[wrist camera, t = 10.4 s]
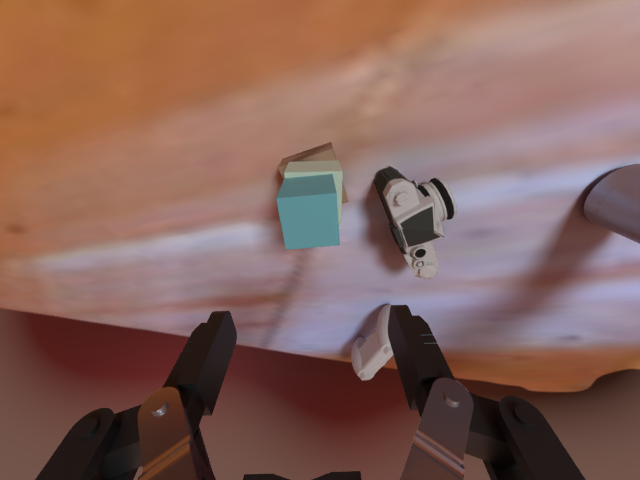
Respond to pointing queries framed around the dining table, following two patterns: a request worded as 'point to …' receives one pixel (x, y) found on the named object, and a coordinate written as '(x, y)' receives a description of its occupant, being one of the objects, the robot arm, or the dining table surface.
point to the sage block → (319, 169)
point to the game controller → (373, 348)
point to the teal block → (309, 211)
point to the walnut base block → (314, 154)
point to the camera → (415, 216)
